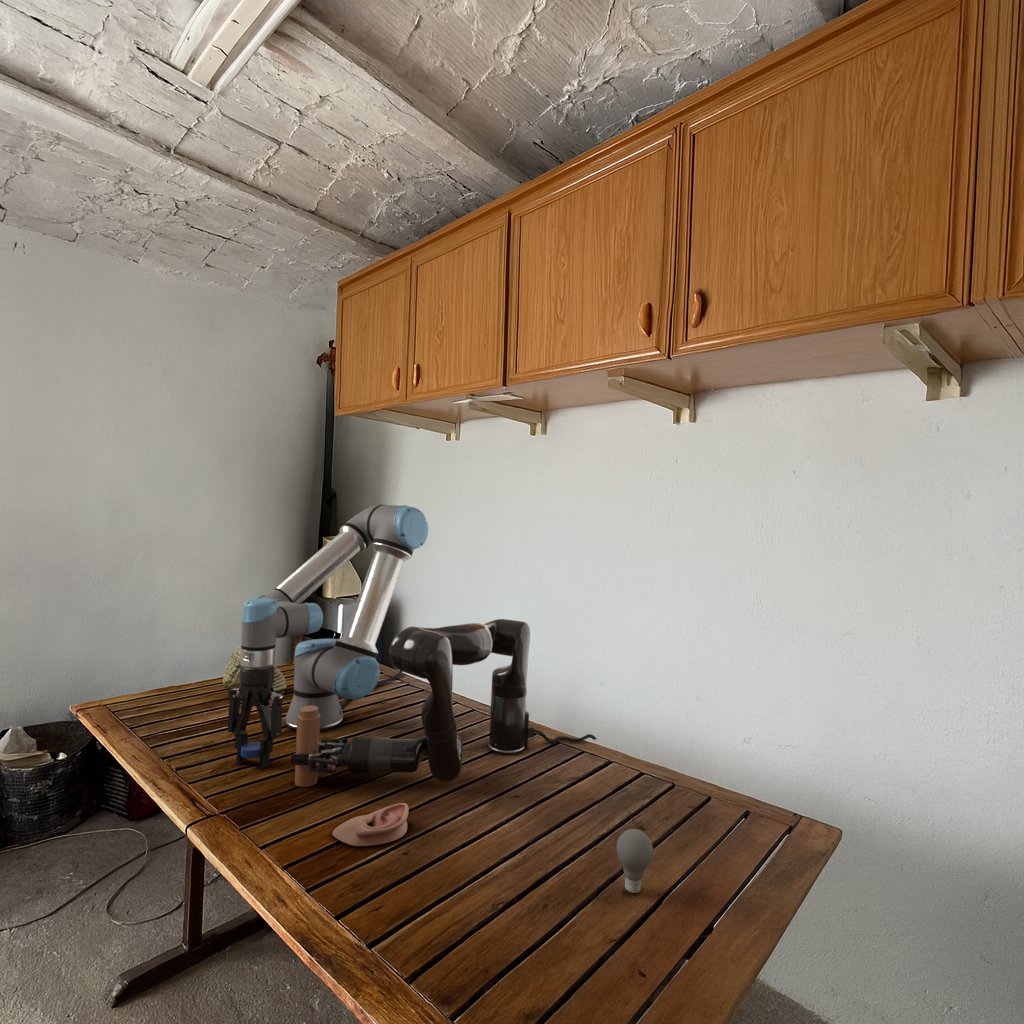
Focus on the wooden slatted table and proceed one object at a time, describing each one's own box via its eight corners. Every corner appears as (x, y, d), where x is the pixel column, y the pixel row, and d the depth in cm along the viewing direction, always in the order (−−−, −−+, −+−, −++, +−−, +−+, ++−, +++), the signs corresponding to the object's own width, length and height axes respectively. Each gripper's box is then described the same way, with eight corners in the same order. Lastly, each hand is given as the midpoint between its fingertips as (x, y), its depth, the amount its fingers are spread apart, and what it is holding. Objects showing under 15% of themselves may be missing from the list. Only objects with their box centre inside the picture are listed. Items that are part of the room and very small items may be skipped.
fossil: (218, 695, 195) (220, 647, 195) (278, 685, 208) (279, 640, 207) (228, 703, 189) (230, 653, 188) (289, 692, 201) (290, 645, 201)
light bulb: (610, 879, 108) (613, 822, 108) (644, 879, 109) (647, 822, 109) (619, 902, 102) (622, 840, 102) (655, 901, 103) (658, 840, 103)
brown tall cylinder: (321, 777, 143) (323, 705, 142) (313, 787, 138) (316, 712, 138) (299, 776, 143) (302, 704, 143) (291, 786, 138) (293, 711, 138)
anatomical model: (325, 820, 116) (352, 792, 127) (324, 841, 116) (352, 812, 128) (392, 830, 114) (415, 801, 125) (392, 852, 114) (414, 821, 125)
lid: (237, 752, 148) (238, 744, 148) (261, 747, 152) (262, 739, 152) (244, 760, 144) (244, 752, 144) (268, 755, 147) (269, 747, 147)
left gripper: (212, 665, 146) (207, 765, 147) (283, 674, 142) (278, 777, 142) (233, 658, 154) (229, 753, 154) (301, 666, 149) (296, 764, 150)
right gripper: (378, 727, 148) (304, 725, 147) (368, 751, 134) (286, 750, 133) (376, 758, 148) (302, 757, 147) (366, 786, 134) (284, 785, 133)
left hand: (252, 764), depth 148 cm, fingers closed on lid, 5 cm apart
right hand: (295, 754), depth 140 cm, fingers closed on brown tall cylinder, 5 cm apart
